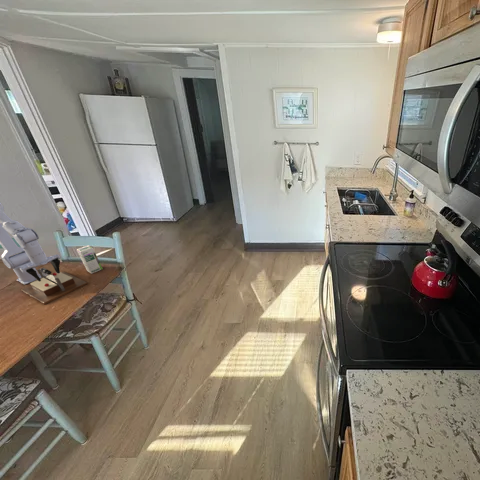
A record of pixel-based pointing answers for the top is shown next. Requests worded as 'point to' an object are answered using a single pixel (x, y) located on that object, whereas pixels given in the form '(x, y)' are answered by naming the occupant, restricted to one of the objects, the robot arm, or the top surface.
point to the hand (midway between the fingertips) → (49, 276)
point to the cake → (52, 284)
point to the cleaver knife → (48, 274)
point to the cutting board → (53, 296)
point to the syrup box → (89, 259)
